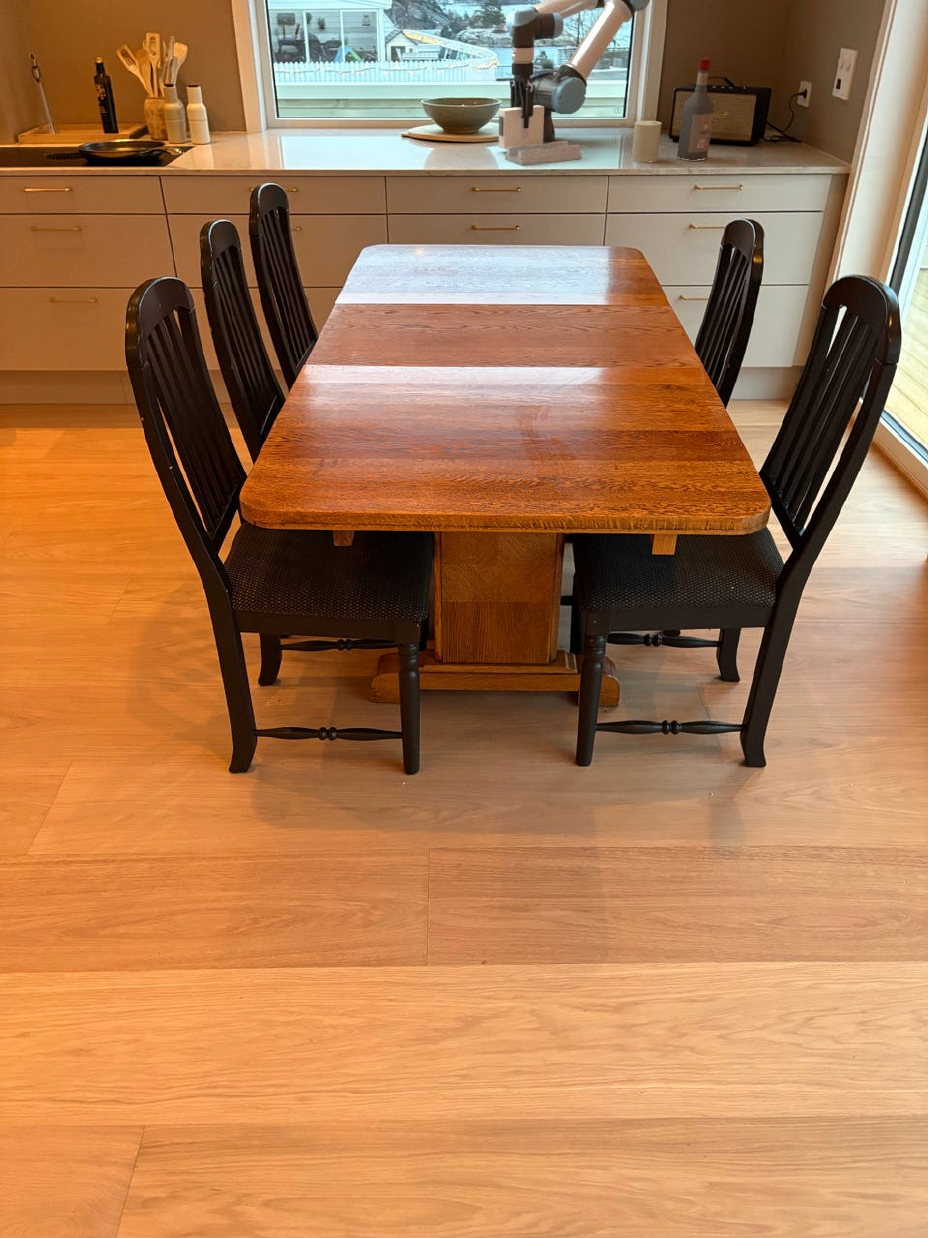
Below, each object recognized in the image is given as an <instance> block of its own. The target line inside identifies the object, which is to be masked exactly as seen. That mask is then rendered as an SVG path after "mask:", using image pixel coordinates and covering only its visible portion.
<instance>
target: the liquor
mask: <svg viewBox="0 0 928 1238" xmlns="http://www.w3.org/2000/svg"><path fill="white" fill-rule="evenodd" d="M710 65H711V58H708V57H707V58H706V57H704V58H703V57H702V58H699V60H698V68H697V70H698V71H697V72H698V73H697V79H696V86H695V88H694V92H693V93H692V94H691V95H690V96H689V97H688V99H687V100H685V102H684V104H683V106H682V113H681V124H680V131H679V136H678V137H679V139H678V146H677V158H678V157H680V158H684V159H689V160H697V159H703V158H706V159H707V158H708V154H709V148H710V147H709V146H710V140H711V132H712V125H713V118H714V111H715V104H714V101H713V99H712V98H711V97H710V95H709V93H708V88H707V85H708V78H709V71H710Z"/></svg>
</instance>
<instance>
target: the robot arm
mask: <svg viewBox="0 0 928 1238" xmlns="http://www.w3.org/2000/svg"><path fill="white" fill-rule="evenodd" d="M650 2H651V0H545V1H542V2H539V3H537V4H535V5H532V6H531V7H516V8H514V9H513V10H512V11H510V13H508V15H507V17H506V20H505V21H506V22H505V25H506V31H508V33H509V34H510V35H511V38H512V40H511V41H512V42H511V46H512V49H511V60H512V63H511V75H512V76H514V79H513V80H510V81H509V87H510V108H516V107H522V115H523V116H522V117H521V139H525V138H528V130H529V118H530V117H531V116H533V106H535V105H540V106H544V127H543V143H549V142H555V140H556V131H555V127H554V122H553V118H552V114H553V113H554V114H555V113H556V114H559V115H573V114H576V113H577V112H578V111H579V110H580V109H581V108H582V106H583V104H584V103H585V101H586V95H587V87H588V81H587V79H588V78H589V76H590V74H591V73H592V71H593V70H594V68H595V67H596V65H597V64H598V62H599V60H600V59H601V57H602V56H603V55H604V53H605V51H606V50H607V48H608V47H609V45H610V44H611V42H612V41H613V39H614V38H615V37H616V36H617V33H618V32H619V30H620V28H621V27H622V26H623V25H624V23H628V22H630V21H631V20H632V18H633V16H634V15H635V14H636V12H641V11H644V10H645V9H646V8H647V7H648V6H649V4H650ZM596 9H602V10H601V12H600V13H599V14H598V16H597V18H596V19H595V21H594V22H593V24H592V26H591V27H590V28H589V29H588V31H587V32H586V35H585V36H584V38H583V39H582V40H581V42H580V43H579V44H578V47H577V49H576V50H575V51H574V53H573V54H572V56H571V57H570V59H569V60H568V61H567V63H563V64H561V65H560V66H559V68H558V69H557V71H556V73H554V72H555V71H554V69H553V68H549V69H548V68H547V69H538V70H537V69H536V70H534V65H535V63H534V62H533V61H534V60H535V41H540V40H554V39H558V38H559V37H560V36H562V34H563V31H564V25H565V24H564V20H565V19H567V18H570V17H572V16H575V15H576V14H579V13H581V12H583V11H586V10H587V11H591V12H592V11H593V10H596Z"/></svg>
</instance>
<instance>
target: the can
mask: <svg viewBox="0 0 928 1238" xmlns="http://www.w3.org/2000/svg"><path fill="white" fill-rule="evenodd" d="M661 129H662V122H660V121H657V120H638V121H637V120H636V121H635V122H634V127H633V138H632V148H631V149H632V151H631V157H630V160H631V159H632V160H634V161H633V162H635V161H640V162H639V163H642V162H649V161H656V160H658V161H659V159H658V158H659V146H660V138H661ZM632 160H631V161H632ZM656 162H657V161H656Z"/></svg>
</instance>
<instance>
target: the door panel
mask: <svg viewBox="0 0 928 1238" xmlns="http://www.w3.org/2000/svg"><path fill="white" fill-rule="evenodd" d="M522 116H523V115H522V107H516V108H511V107H506V108H499V109H498V148H501V149H504V150H506V147H511V146H520V145H530V144H540V143H543V127H544V106H540V105H535V106H533V116H531V117H530V118H529V130H528V138H525V139H521V117H522Z"/></svg>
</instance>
